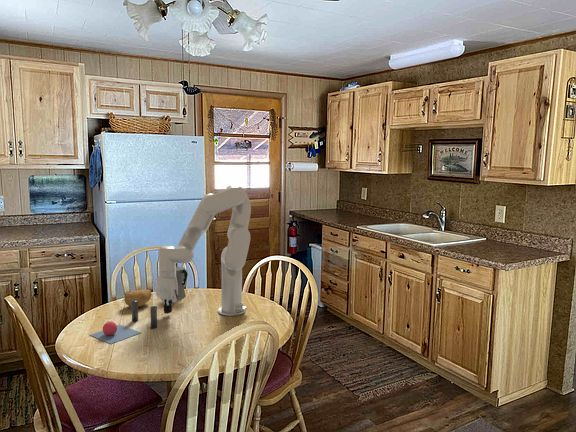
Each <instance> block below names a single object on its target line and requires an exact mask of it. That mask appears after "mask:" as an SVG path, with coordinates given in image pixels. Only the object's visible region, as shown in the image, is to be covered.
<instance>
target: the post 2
mask: <svg viewBox="0 0 576 432" xmlns="http://www.w3.org/2000/svg"><path fill="white" fill-rule="evenodd" d="M149 311H150V312H149V313H150V329H152V330H153V329H157V328H158V307H157V306H156V305H151V306H150V310H149Z"/></svg>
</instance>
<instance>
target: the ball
mask: <svg viewBox="0 0 576 432" xmlns="http://www.w3.org/2000/svg"><path fill="white" fill-rule="evenodd" d="M117 326H118V325H117V324H116V323H115V322H114V321H107V322H105V323H104V324H103V326H102V331H103V333H104V334H105V335H108V336H110V335H113V334H115V333H116V331H117Z"/></svg>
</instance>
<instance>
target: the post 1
mask: <svg viewBox="0 0 576 432" xmlns="http://www.w3.org/2000/svg"><path fill="white" fill-rule="evenodd" d="M131 322H134V323H137V322H139V307H138V300H133V301H132V307H131Z"/></svg>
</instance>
